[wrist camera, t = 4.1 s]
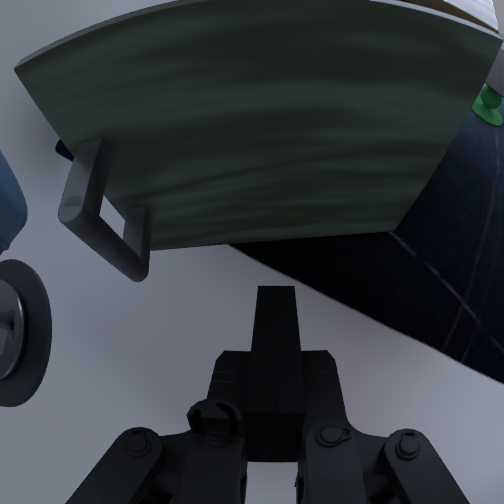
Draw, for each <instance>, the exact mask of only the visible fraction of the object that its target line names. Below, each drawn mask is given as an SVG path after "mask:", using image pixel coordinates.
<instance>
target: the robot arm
mask: <svg viewBox="0 0 504 504" xmlns="http://www.w3.org/2000/svg"><path fill="white" fill-rule="evenodd" d="M26 221H27V206H26V201H25V198H24V195H23V193H22V190H21V188H20V186H19V183H18V181H17V179H16V177H15V176H14V173H13V171H12V170H11V168H10V166H9V164H8V162H7V160H6V159H5V157H4V155H3V154H2V152H1V150H0V255H1V254H2V252H3V251H4V250H7V249H8V248H9V246H10V243H11V242H12V241H13V239H14V238H15V237H16V235H17V234H18V233H19V232H20V231H21V230H22V228H23V227H24V225H25V223H26ZM299 337H300V336H299V326H298V316H297V307H296V298H295V288H294V286H258V293H257V302H256V311H255V320H254V329H253V337H252V346H251V351H224V352H223V353H222V354H221V355H220V356H219V357H218V358H217V360H216V362H215V366H214V371H213V375H212V379H211V383H210V387H209V391H208V395H207V399H205V400H202V401H199V402H197V403H196V404H195V405H193V406H192V407H191V408H190V410H189V411H188V413H187V418H188V421H189V425H190V428H191V430H189V431H186V432H184V433H180V434H174V435H165V436H159V435H158V434H157V433H156V432H154V431H152V430H151V429H148V428H144V427H136V428H131V429H128V430H126V431H124V432H123V433H122V434H121V435H120V436H119V437H118V438H117V439H116V440H115V441H114V443H113V444H112V445H111V447H110V448H109V449H108V450H107V452H106V453H105V454H104V455H103V457H102V458H101V459H100V461H99V462H98V463H97V464H96V466H95V467H94V468H93V469H92V471H91V472H90V473H89V474H88V476H87V477H86V478H85V480H84V481H83V482H82V483H81V484H80V486H79V487H78V488H77V490H76V491H75V492H74V493H73V495H72V496H71V497H70V498H69V500H68V501H67V502H66V503H65V504H245V497H246V487H247V463H248V462H297V460H298V473H297V477H296V482H295V486H294V487H296V497H297V498H296V502H297V503H296V504H470V503H469V502H468V500H467V499H466V497H465V496H464V494H463V492H462V491H461V489H460V487H459V486H458V484H457V483H456V481H455V480H454V478H453V477H452V475H451V473H450V472H449V470H448V469H447V467H446V466H445V464H444V463H443V461H442V460H441V458H440V457H439V455H438V454H437V452H436V451H435V449H434V447H433V446H432V445H431V443H430V442H429V440H428V439H427V438H426V437H425V436H424V435H423V434H422V433H421V432H419V431H416V430H414V429H401V430H397V431H395V432H394V433H392V434H391V435H390V436H389V437H388V438H387V437H380V436H373V435H368V434H364V433H362V432H359V431H358V430H356V429H355V428H354V427H353V426H351V424H350V423H349V421H348V419H347V416H346V412H345V406H344V401H343V396H342V391H341V386H340V383H339V376H338V373H337V367H336V362H335V359H334V358H333V357H332V356H331V354H330V353H329V352H328V351H327V350H320V351H319V350H317V351H301V347H300V338H299ZM27 340H28V316H27V310H26V305H25V302H24V299H23V297H22V295H21V293H20V292H19V290H18V289H17V288H16V287H15V286H14V285H12V284H10V283H8V282H6V281H4V280H2V279H0V381H4V380H7V379H9V378H10V377H12V376H13V375H14V374H15V373H16V371H17V370H18V368H19V367H20V365H21V362H22V360H23V357H24V354H25V351H26V346H27Z"/></svg>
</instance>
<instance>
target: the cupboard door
mask: <svg viewBox="0 0 504 504" xmlns="http://www.w3.org/2000/svg"><path fill="white" fill-rule="evenodd" d="M502 43H503V39H502V38H500V37H499V36H498V35H497V34H496V33H495V32H493V31H491V30H489V29H487V28H484V27H482V26H479V25H477V24H474V23H472V22H469V21H466V20H464V19H461V18H458V17H455V16H452V15H449V14H446V13H443V12H440V11H437V10H433V9H430V8H426V7H422V6H419V5H415V4H411V3H406V2H402V1H397V0H178V1H172V2H168V3H164V4H159V5H156V6H151V7H148V8H144V9H140V10H137V11H134V12H130V13H127V14H124V15H121V16H117V17H114V18H111V19H109V20H106V21H103V22H100V23H98V24H95V25H92V26H90V27H87V28H85V29H82V30H80V31H77V32H75V33H73V34H71V35H68V36H66V37H64V38H62V39H60V40H57V41H55V42H53V43H51V44H49V45H47V46H45V47H43V48H41V49H39V50H38V51H36V52H34V53H32V54H30V55H28V56H27V57H25V58H23V59H21V61H20V62H19V63H18V64H17V65H16V66H15V68H14V71H15V72H16V74H17V76H18V77H19V79H20V80H21V82H22V84H23V85H24V86H25V88H26V90H27V91H28V93H29V94H30V96H31V97H32V99H33V100H34V102H35V103H36V105H37V106H38V108H39V109H40V110H41V112H42V113H43V115H44V116H45V118H46V119H47V121H48V122H49V123H50V125H51V126H52V128H53V129H54V130H55V132H56V133H57V135H58V136H59V137H60V139H61V140H62V141H63V143H64V144H65V146H66V147H67V148H68V150H69V151H70V152H71V154H72V155H73V156H74V160H73V163H72V166H71V170H70V172H69V176H68V179H67V182H66V185H65V189H64V192H63V196H62V199H61V203H60V207H59V212H58V218H59V220H60V222H61V223H62V224H64V225H65V226H66V227H67V228H68V229H69V230H70V231H72V232H73V233H74V234H75V235H76V236H77V237H79V238H80V239H81V240H82V241H83V242H85V243H86V244H87V245H88V246H89V247H91V248H92V249H93V250H94V251H96V252H97V253H98V254H99V255H100V256H102V257H103V258H104V259H105V260H107V261H108V262H109V263H110V264H112V265H113V266H114V267H115V268H117V269H118V270H119V271H121V272H122V273H123V274H124V275H126V276H127V277H128V278H130V279H131V280H132V281H134V282H140V281H143V280H144V279H145V278H146V277H147V275H148V272H149V258H150V250H151V251H154V250H166V249H177V248H188V247H199V246H211V245H223V244H235V243H247V242H259V241H271V240H283V239H296V238H309V237H321V236H334V235H348V234H361V233H375V232H388V231H394V230H395V229H396V227H397V226H398V225H399V223H400V222H401V220H402V219H403V218H404V216H405V215H406V213H407V212H408V210H409V209H410V207H411V206H412V205H413V203H414V202H415V200H416V199H417V197H418V196H419V194H420V193H421V191H422V190H423V188H424V187H425V185H426V184H427V182H428V181H429V179H430V178H431V176H432V174H433V173H434V171H435V170H436V168H437V167H438V165H439V163H440V162H441V160H442V158H443V157H444V155H445V154H446V152H447V150H448V149H449V147H450V145H451V144H452V142H453V140H454V138H455V137H456V135H457V133H458V132H459V130H460V128H461V126H462V124H463V123H464V121H465V119H466V117H467V115H468V114H469V112H470V110H471V108H472V106H473V104H474V102H475V100H476V98H477V97H478V95H479V93H480V91H481V89H482V87H483V85H484V83H485V80H486V78H487V76H488V74H489V72H490V70H491V68H492V66H493V63H494V61H495V59H496V57H497V55H498V52H499V50H500V48H501V45H502ZM103 195H104V196H105V197H106V198H107V199H108V201H109V202H110V203H111V204H112V205H113V206H114V208H115V209H116V210H117V211H118V213H119V214H120V215H121V216H122V217H123V219H124V220H125V226H124V233H123V240H122V239H121V238H120V237H119V236H118V235H117V234H116V233H115V232H114V231H113V229H112V228H111V227H110V226H109V225H108V224H107V223H106V222H105V221H104V220H103V219H102V218H101V217H100V216H99V214H100V209H101V204H102V200H103Z"/></svg>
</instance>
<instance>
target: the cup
mask: <svg viewBox="0 0 504 504" xmlns="http://www.w3.org/2000/svg"><path fill="white" fill-rule="evenodd" d="M498 36H499V37H500V38H502V39H503V43H502V45H501V48H500V50H499V52H498V55H497V57H496V59H495V61H494V63H493V66H492V68H491V70H490V72H489V74H488V76H487V78H486V80H485V83H486V84H487V86H485V87H484V88H483V89H482V90H481V96H480V95H478V97H477V98H476V100H475V102H474V104H473V106H472V108H471V109H472V110H473V111H474V112H475V113H476V114H477V115H478V116H479V117H480V118H481V119H483V120H484V121H486V122H488V123H489V124H492V125H494V126H501V125H502V123H503V120H502V116H501V115H500V113H499V111H498V110H497V109H496V108H498V107H499V106H500V105H501V102H502V98H501V97H503V98H504V35H503V34H502V33H498Z"/></svg>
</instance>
